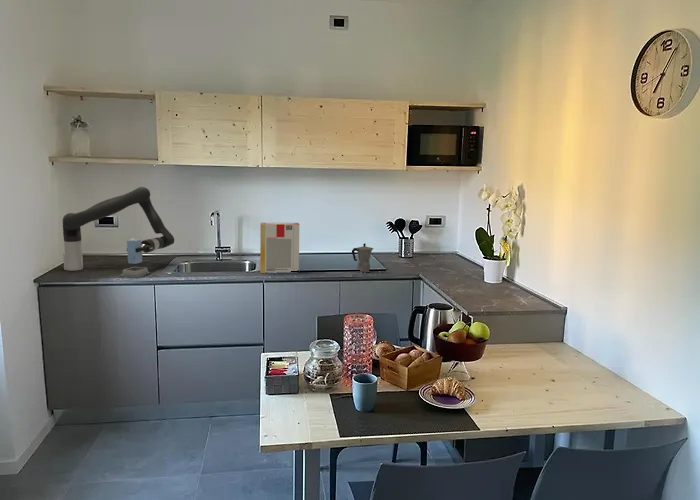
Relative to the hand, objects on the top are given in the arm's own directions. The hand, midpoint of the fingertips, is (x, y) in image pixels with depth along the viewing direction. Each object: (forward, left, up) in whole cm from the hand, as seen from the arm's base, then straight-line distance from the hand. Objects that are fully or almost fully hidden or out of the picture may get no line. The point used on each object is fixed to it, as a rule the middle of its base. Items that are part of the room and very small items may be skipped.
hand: (131, 250), depth 306 cm
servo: (+1, +3, -8) cm, 8 cm away
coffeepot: (+134, +16, -15) cm, 136 cm away
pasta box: (+83, +14, -15) cm, 85 cm away
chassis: (+1, +2, -15) cm, 15 cm away
